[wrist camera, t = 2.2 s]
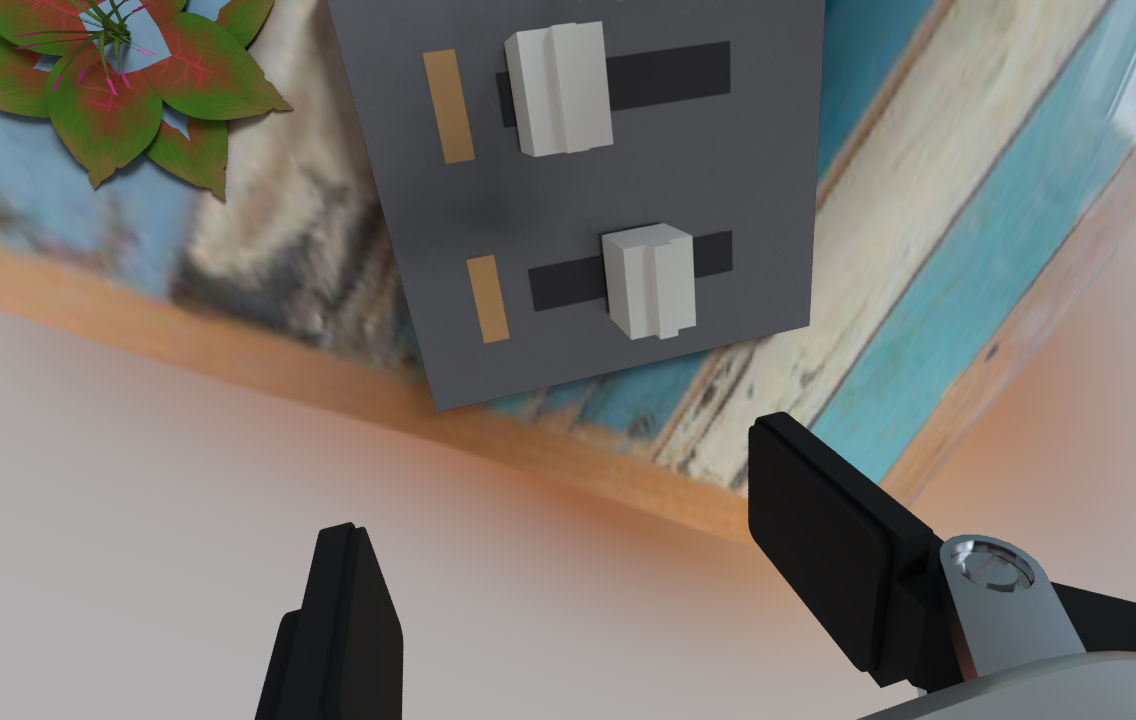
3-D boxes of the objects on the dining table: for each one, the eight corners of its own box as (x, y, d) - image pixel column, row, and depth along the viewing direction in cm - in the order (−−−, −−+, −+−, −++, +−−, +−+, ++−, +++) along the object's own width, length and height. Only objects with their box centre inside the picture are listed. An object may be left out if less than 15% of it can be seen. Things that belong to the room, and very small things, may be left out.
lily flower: (-52, -264, 18) (-194, -379, 14) (345, -42, 22) (329, -78, 18) (-98, 119, 21) (-224, 119, 17) (258, 246, 25) (227, 271, 21)
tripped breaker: (664, 223, 26) (698, 238, 23) (669, 305, 28) (701, 330, 25) (601, 235, 26) (628, 252, 22) (610, 317, 27) (636, 345, 24)
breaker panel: (800, -71, 25) (831, -86, 23) (787, 314, 32) (810, 326, 31) (326, -21, 22) (317, -34, 20) (435, 394, 29) (436, 413, 27)
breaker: (579, 32, 22) (606, 18, 19) (591, 141, 24) (618, 145, 21) (504, 42, 22) (519, 29, 19) (521, 151, 24) (538, 158, 20)
